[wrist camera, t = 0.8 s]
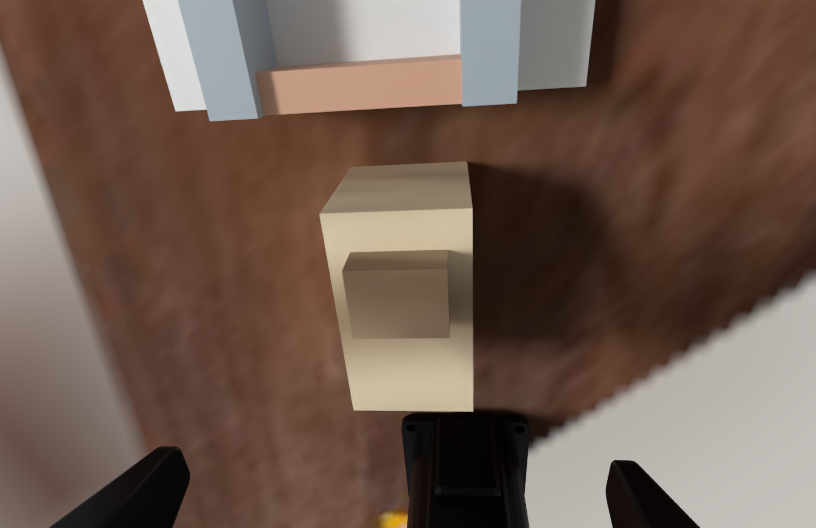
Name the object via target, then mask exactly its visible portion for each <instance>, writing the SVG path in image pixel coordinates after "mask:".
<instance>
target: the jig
mask: <svg viewBox="0 0 816 528" xmlns="http://www.w3.org/2000/svg"><path fill="white" fill-rule="evenodd" d="M143 3H144V7H145V10H146V13H147V17H148V20H149V23H150V27H151V30H152V33H153V37H154V40H155V44H156V47H157V50H158V54H159V57H160V60H161V64H162V67H163V70H164V74H165V77H166V80H167V84H168V87H169V91H170V94H171V97H172V101H173V104H174V107H175V111H189V110H206V109H207V112H208V116H209V120H210V121H222V120H239V119H257V118H260V117H262V116H264V115H278V114H295V113H312V112H329V111H346V110H364V109H381V108H398V107H415V106H432V105H449V104H462V106H463V107H464V106H481V105H498V104H516V103H517V91H518V90H535V89H551V88H567V87H584V86H586V81H587V72H588V63H589V54H590V45H591V36H592V26H593V17H594V8H595V0H143Z"/></svg>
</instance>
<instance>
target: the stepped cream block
mask: <svg viewBox="0 0 816 528" xmlns="http://www.w3.org/2000/svg"><path fill="white" fill-rule="evenodd" d="M320 219H321V225H322V231H323V236H324V242H325V248H326V254H327V260H328V265H329V271H330V277H331V283H332V288H333V294H334V300H335V306H336V311H337V317H338V323H339V329H340V334H341V340H342V346H343V352H344V358H345V363H346V369H347V375H348V381H349V386H350V392H351V398H352V404H353V409H354V410H375V411H462V412H473V207H472V199H471V191H470V182H469V174H468V165H467V162H447V163H426V164H404V165H383V166H362V167H351V168H350V170H349V171H348V173H347V174H346V175H345V177H344V178H343V180H342V181H341V183H340V184H339V186H338V187H337V189H336V190H335V192H334V193H333V195H332V196H331V198H330V199H329V201H328V202H327V203H326V205H325V206H324V208H323V209H322V211H321V212H320Z"/></svg>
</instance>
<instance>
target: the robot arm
mask: <svg viewBox="0 0 816 528" xmlns="http://www.w3.org/2000/svg"><path fill="white" fill-rule="evenodd" d="M410 424H411V425H410ZM517 426H521V427H517ZM529 433H530V428H529V423H528V420H527V419H526V418H524V417H520V416H446V415H408V416H406V417H404V418H403V420H402V437H403V446H404V456H405V465H406V475H407V484H408V494H409V509H408V521H407V528H529V522H528V516H527V510H526V503H525V497H524V493H525V482H526V470H527V458H528V445H529ZM189 481H190V471H189V468H188V466H187V463H186V461H185V458H184V456H183V453H182V451H181V449H180V448H178V447H172V446H161V447H158V448H156V449H155V450H153V451H152V452H151V453H149V454H148V455H147V456H145V457H144V458H143V459H141V460H140V461H139V462H137V463H136V464H134V465H133V466H132V467H130V468H129V469H128V470H126V471H125V472H124V473H122V474H121V475H120V476H118V477H117V478H115V479H114V480H113V481H111V482H110V483H109V484H107V485H106V486H105V487H103V488H102V489H101V490H99V491H98V492H96V493H95V494H94V495H92V496H91V497H90V498H88V499H87V500H86V501H84V502H83V503H81V504H80V505H79V506H78V507H76V508H75V509H73V510H72V511H71V512H69V513H68V514H67V515H65V516H64V517H62V518H61V519H60V520H59V521H57V522H56V523H54V524H53V525H52V526H50V527H49V528H173V525H174V523H175V520H176V517H177V515H178V512H179V509H180V506H181V504H182V501H183V498H184V496H185V493H186V490H187V488H188V485H189ZM606 499H607V504H608V508H609V513H610V517H611V522H612V526H613V528H700V527H699V526H698V525H697V524H696V523H695V522H694V521H693V520H692V519H691V518H690V517H689V516H688V515H687V514H686V513H685V512H684V511H683V510H682V509H681V508H680V507H679V506H678V505H677V504H676V503H675V502H674V501H673V500H672V499H671V498H670V497H669V495H668V494H667V493H666V492H665V491H664V490H663V489H662V488H661V487H660V486H659V485H658V484H657V483H656V482H655V481H654V480H653V479H652V478H651V477H650V476H649V475H648V474H647V473H646V472H645V471H644V470H643V469H642V468H641V467H640V466H639V465H638V464H637V463H636V462H634V461H627V460H614V461H613V462H612V463H611V466H610V470H609V475H608V480H607V485H606Z"/></svg>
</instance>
